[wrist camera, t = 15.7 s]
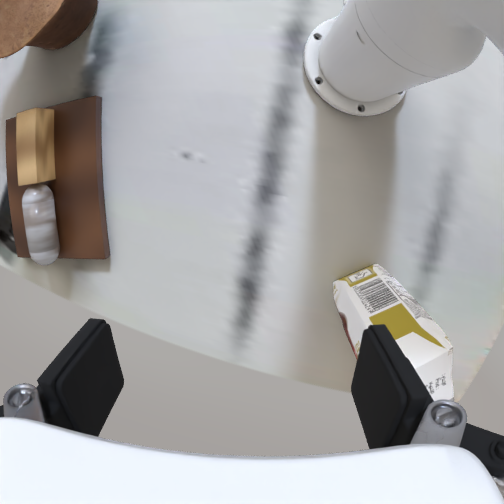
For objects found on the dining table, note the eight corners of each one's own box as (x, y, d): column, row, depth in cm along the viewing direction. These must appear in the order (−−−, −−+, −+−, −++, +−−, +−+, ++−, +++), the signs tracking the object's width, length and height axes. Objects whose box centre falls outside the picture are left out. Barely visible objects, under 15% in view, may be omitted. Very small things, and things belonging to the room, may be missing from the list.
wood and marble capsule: (32, 115, 31) (11, 114, 26) (57, 108, 30) (36, 106, 26) (44, 258, 37) (26, 269, 32) (68, 259, 36) (50, 270, 32)
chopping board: (12, 120, 32) (5, 120, 31) (101, 97, 32) (96, 95, 30) (23, 254, 38) (17, 257, 37) (110, 255, 38) (105, 259, 36)
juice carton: (379, 253, 37) (460, 335, 19) (394, 309, 39) (461, 403, 21) (324, 277, 38) (370, 379, 20) (344, 331, 40) (386, 439, 22)
